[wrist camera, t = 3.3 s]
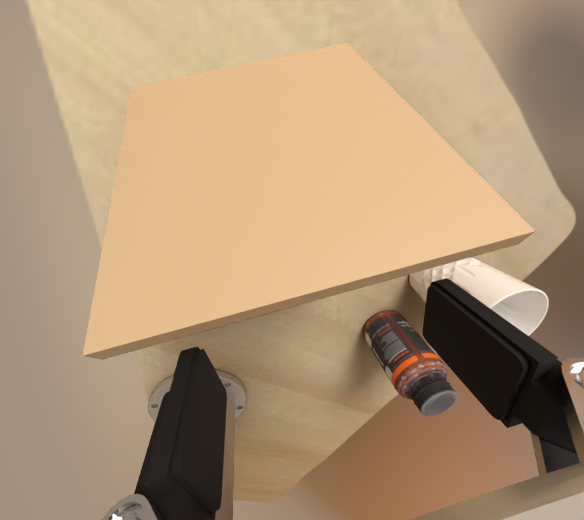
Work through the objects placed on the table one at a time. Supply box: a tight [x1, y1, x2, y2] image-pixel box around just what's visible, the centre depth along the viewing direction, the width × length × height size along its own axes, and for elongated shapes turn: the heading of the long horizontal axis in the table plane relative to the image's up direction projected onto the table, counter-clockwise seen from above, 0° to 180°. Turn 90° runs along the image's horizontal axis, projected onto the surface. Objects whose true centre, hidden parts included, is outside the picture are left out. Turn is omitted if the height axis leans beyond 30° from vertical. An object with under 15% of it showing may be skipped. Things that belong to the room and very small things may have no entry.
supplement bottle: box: [363, 310, 457, 416], centre depth 29 cm, size 6×6×11 cm
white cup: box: [409, 257, 549, 336], centre depth 26 cm, size 8×8×10 cm
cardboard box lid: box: [83, 43, 535, 359], centre depth 10 cm, size 14×12×1 cm
